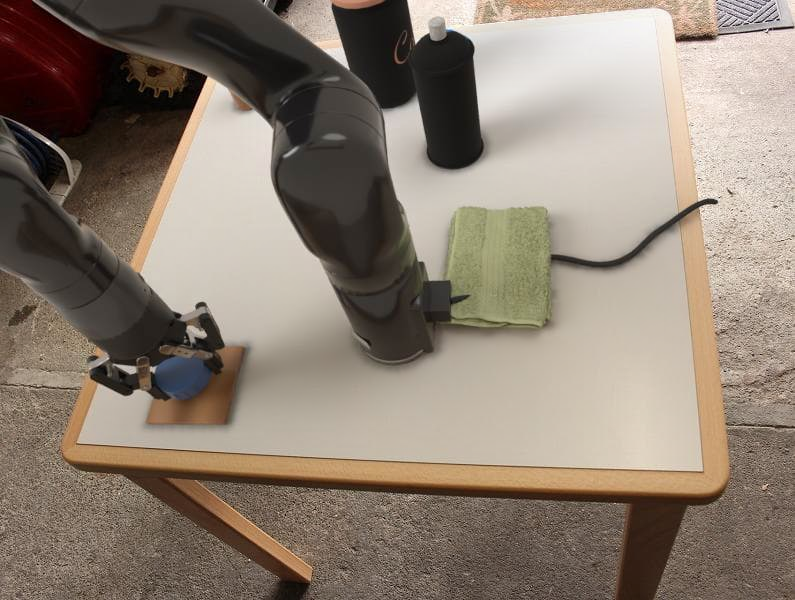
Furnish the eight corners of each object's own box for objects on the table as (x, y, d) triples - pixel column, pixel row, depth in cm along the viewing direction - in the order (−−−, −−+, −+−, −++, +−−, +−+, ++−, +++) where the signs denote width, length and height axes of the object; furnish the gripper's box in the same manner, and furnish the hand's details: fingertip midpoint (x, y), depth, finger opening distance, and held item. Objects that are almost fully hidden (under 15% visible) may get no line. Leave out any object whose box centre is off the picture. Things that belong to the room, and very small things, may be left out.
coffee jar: (416, 111, 94) (393, 0, 79) (350, 112, 97) (317, 5, 82) (427, 66, 99) (408, -45, 85) (365, 69, 102) (336, -39, 87)
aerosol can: (475, 172, 84) (460, 44, 68) (419, 166, 87) (392, 41, 71) (490, 131, 88) (479, 0, 72) (436, 127, 91) (413, 0, 75)
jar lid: (177, 349, 74) (168, 341, 72) (220, 357, 72) (212, 348, 70) (154, 395, 71) (144, 387, 69) (198, 404, 69) (190, 396, 67)
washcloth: (437, 332, 71) (433, 317, 69) (452, 216, 81) (449, 200, 78) (552, 336, 68) (553, 321, 66) (554, 215, 78) (555, 198, 75)
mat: (245, 348, 75) (243, 345, 75) (226, 424, 70) (223, 422, 69) (171, 349, 77) (169, 347, 77) (147, 424, 72) (145, 422, 72)
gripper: (44, 369, 56) (142, 436, 69) (188, 297, 57) (257, 377, 71) (37, 310, 60) (130, 384, 74) (171, 245, 61) (239, 329, 75)
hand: (192, 380), depth 72 cm, fingers closed on jar lid, 6 cm apart
